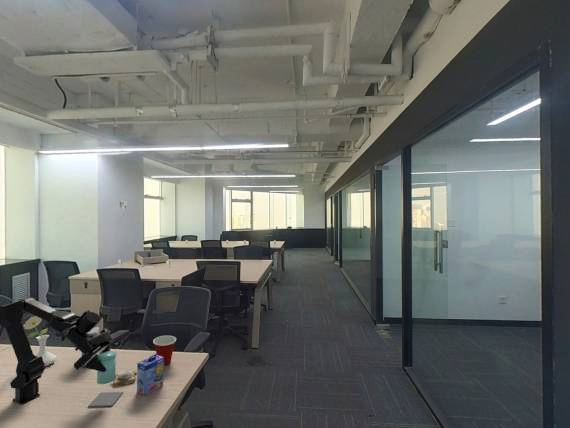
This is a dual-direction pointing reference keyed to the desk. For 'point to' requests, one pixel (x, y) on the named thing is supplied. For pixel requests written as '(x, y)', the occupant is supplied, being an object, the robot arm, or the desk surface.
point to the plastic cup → (165, 347)
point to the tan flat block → (125, 377)
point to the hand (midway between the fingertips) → (109, 366)
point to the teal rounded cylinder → (107, 367)
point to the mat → (105, 399)
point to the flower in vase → (40, 340)
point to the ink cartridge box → (150, 374)
